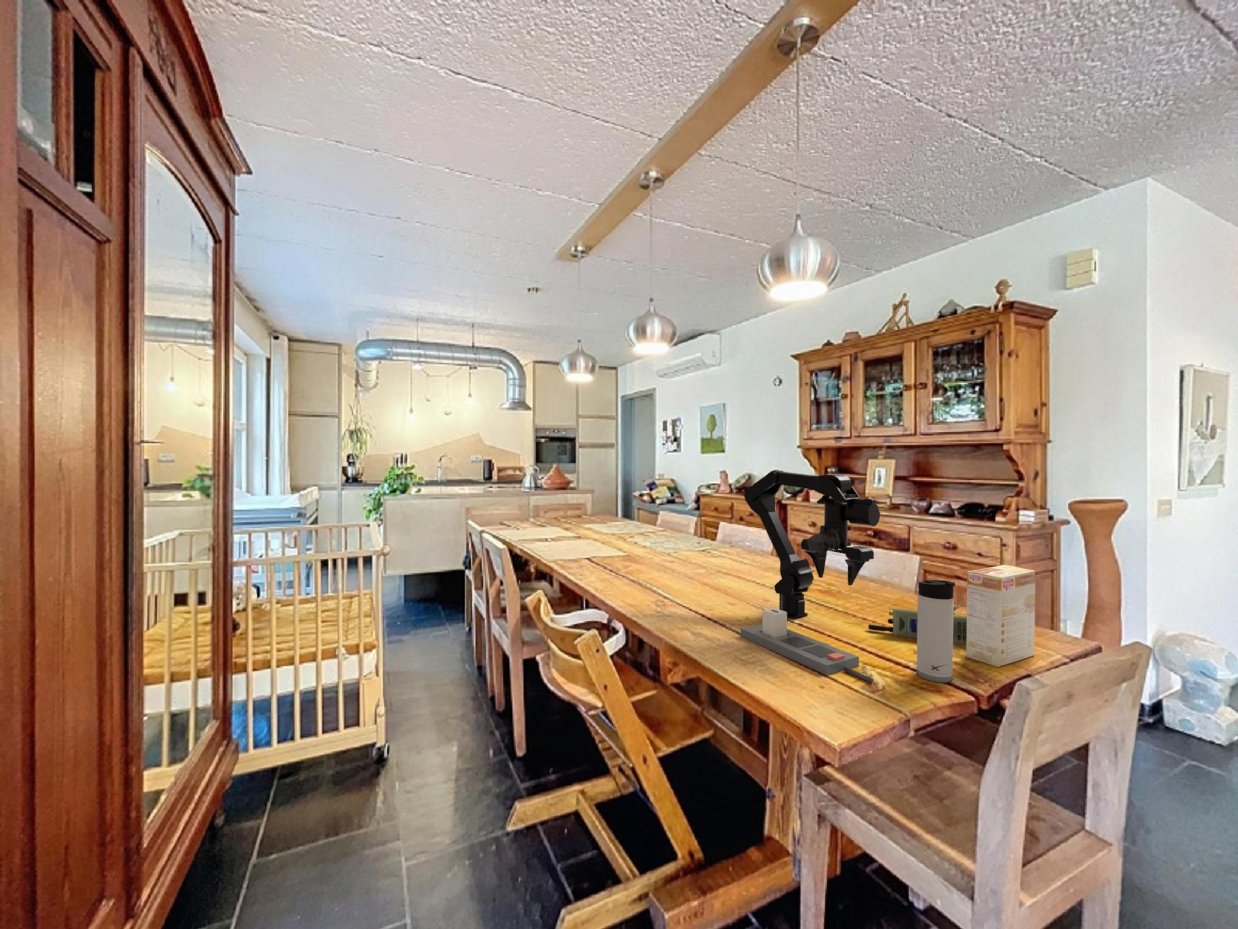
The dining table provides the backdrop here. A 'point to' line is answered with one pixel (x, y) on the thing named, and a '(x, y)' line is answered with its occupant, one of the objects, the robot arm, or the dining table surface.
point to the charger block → (774, 623)
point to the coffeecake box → (1000, 614)
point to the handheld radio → (907, 625)
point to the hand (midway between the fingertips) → (835, 581)
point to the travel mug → (935, 630)
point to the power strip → (806, 651)
